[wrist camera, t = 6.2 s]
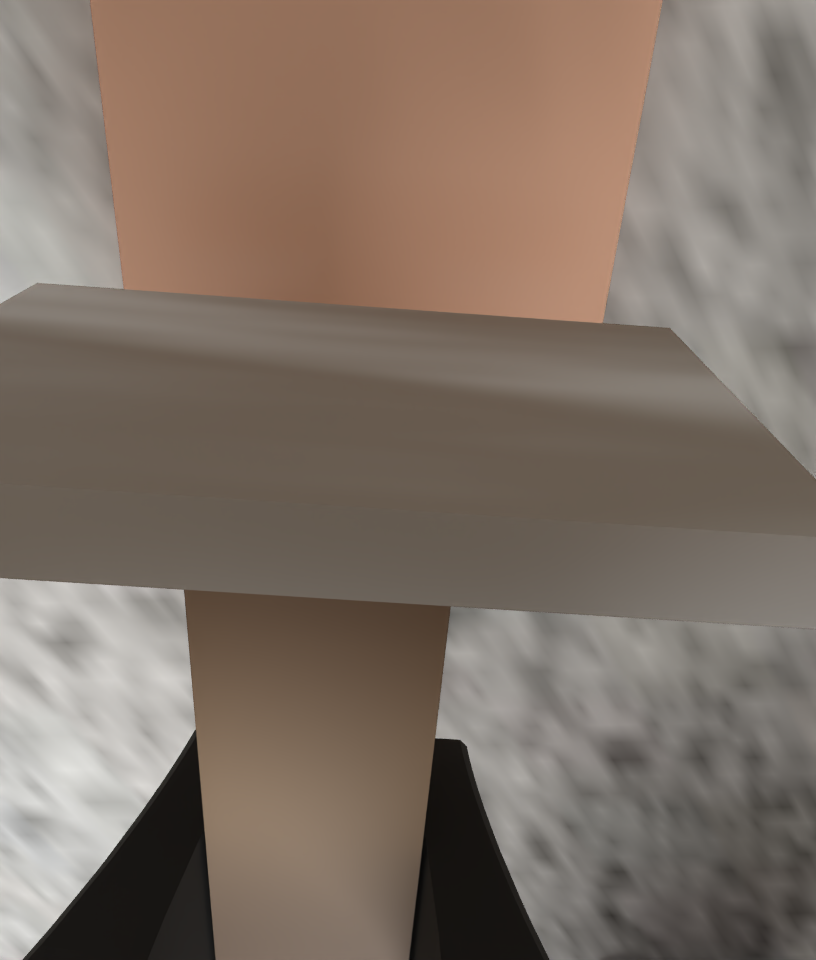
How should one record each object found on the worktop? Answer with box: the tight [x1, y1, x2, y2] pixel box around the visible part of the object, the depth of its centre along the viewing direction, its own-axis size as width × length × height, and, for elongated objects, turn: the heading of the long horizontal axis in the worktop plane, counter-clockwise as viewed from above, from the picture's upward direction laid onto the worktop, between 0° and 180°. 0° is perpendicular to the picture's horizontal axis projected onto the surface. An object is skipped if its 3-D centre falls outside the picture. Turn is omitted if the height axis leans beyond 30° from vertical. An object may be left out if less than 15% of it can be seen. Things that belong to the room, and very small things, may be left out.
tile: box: [90, 0, 663, 323], centre depth 12 cm, size 2×8×8 cm
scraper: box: [0, 283, 816, 960], centre depth 11 cm, size 14×8×5 cm, turn 176°
